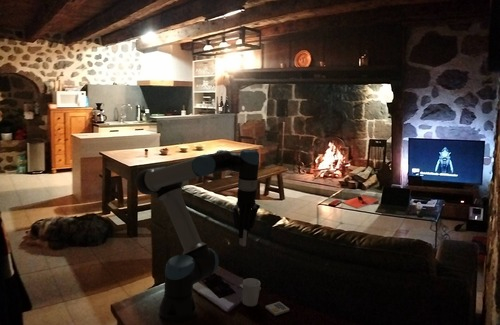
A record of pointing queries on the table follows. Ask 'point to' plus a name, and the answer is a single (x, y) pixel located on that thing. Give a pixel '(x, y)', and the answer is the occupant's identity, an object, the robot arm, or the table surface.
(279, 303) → the placard
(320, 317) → the table surface
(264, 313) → the table surface
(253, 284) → the white cup
